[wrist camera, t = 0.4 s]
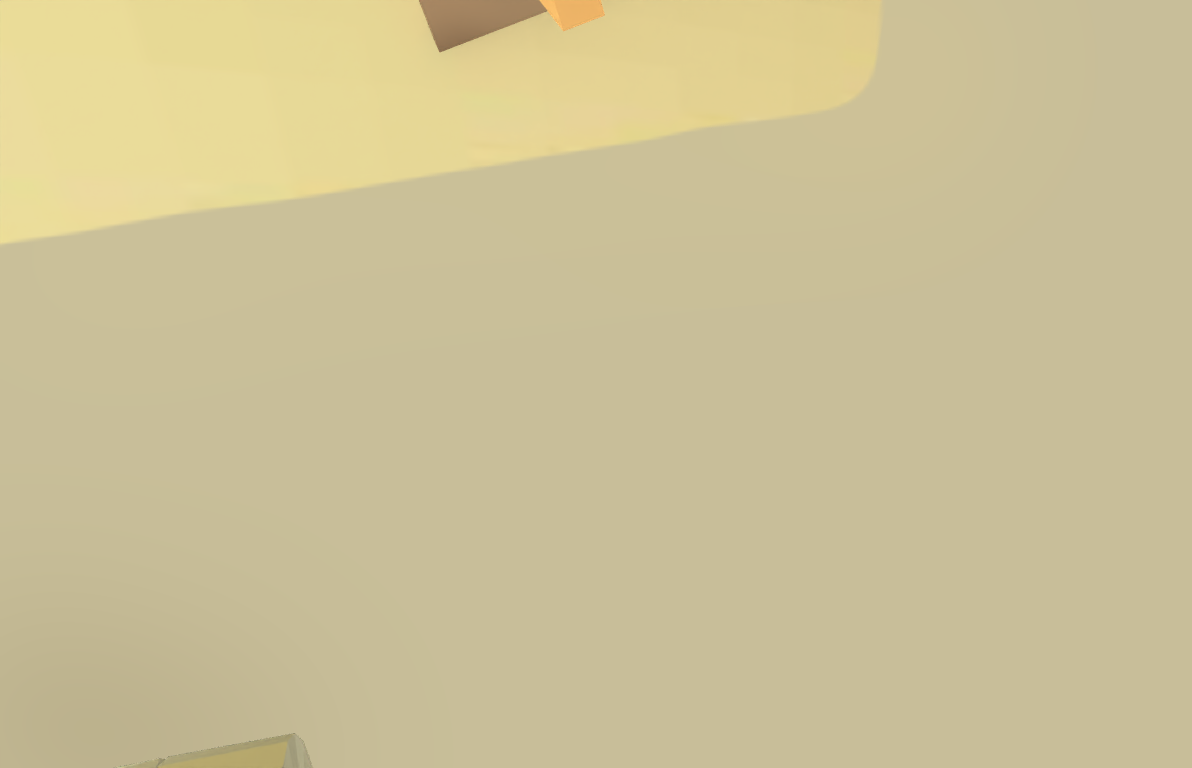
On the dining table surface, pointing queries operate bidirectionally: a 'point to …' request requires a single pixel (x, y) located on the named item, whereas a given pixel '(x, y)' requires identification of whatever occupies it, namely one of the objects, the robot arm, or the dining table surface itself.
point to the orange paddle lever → (573, 11)
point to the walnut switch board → (474, 18)
